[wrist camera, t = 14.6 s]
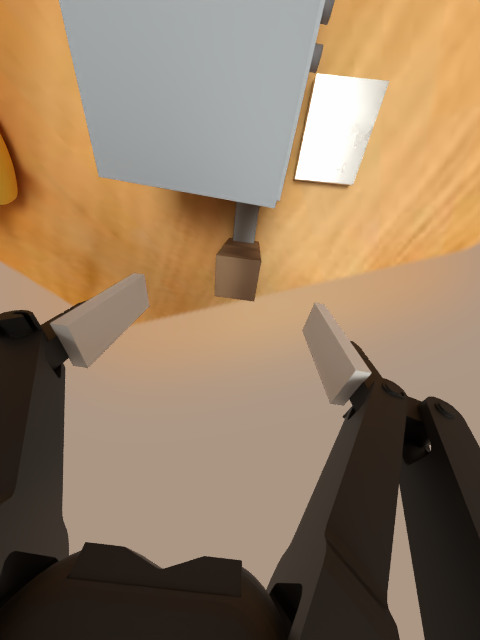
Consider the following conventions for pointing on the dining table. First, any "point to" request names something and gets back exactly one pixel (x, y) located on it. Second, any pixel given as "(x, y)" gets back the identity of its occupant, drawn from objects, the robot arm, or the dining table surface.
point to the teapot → (7, 176)
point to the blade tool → (239, 257)
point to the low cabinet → (195, 89)
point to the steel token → (337, 128)
